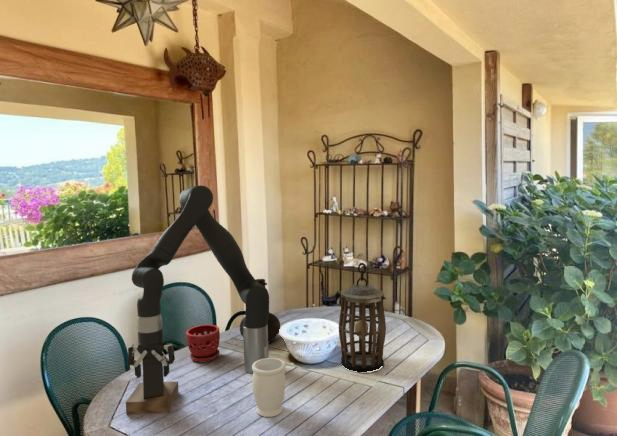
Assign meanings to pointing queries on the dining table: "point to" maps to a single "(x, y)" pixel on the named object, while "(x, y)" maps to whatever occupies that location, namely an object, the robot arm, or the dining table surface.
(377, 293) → the lantern
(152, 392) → the phone stand
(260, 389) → the jar
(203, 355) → the plant pot
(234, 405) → the dining table surface
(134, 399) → the walnut plinth
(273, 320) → the black rounded vessel
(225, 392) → the dining table surface
